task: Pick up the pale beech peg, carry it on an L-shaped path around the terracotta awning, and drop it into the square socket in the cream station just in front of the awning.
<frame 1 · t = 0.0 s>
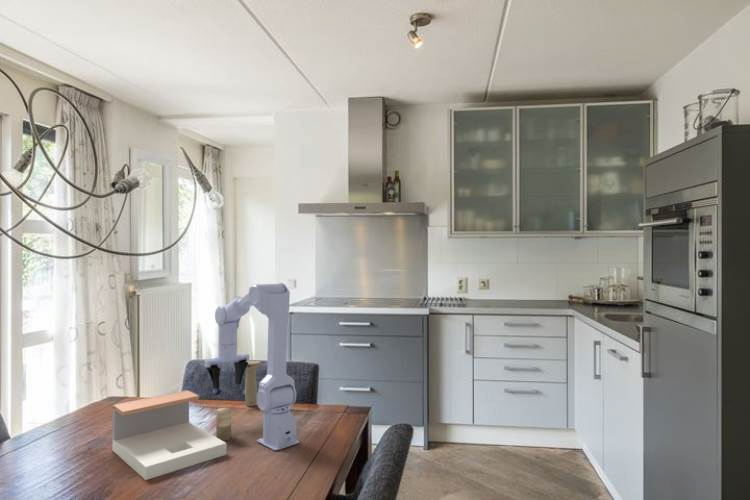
hand: (227, 386, 151), 10 cm above the table, fingers open, 7 cm apart
station: (168, 452, 124), on the table
peg: (223, 438, 134), on the table
handle: (250, 406, 164), on the table
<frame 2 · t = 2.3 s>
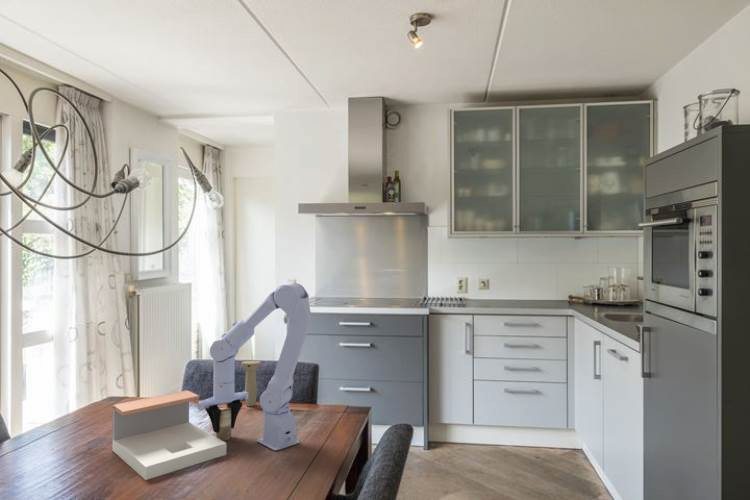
hand: (223, 429, 134), 2 cm above the table, fingers closed on peg, 4 cm apart
peg: (223, 438, 134), on the table, touching gripper
everything else where it was.
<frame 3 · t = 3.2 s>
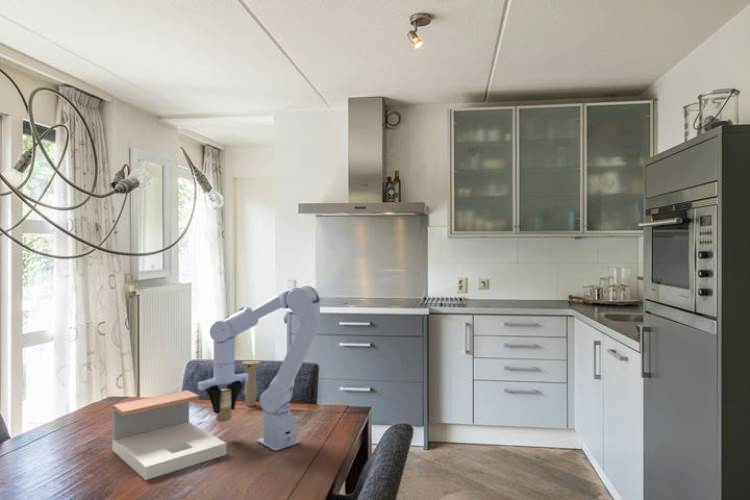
hand: (224, 410, 134), 8 cm above the table, fingers closed on peg, 4 cm apart
peg: (224, 419, 134), point 5 cm above the table, touching gripper
everything else where it was.
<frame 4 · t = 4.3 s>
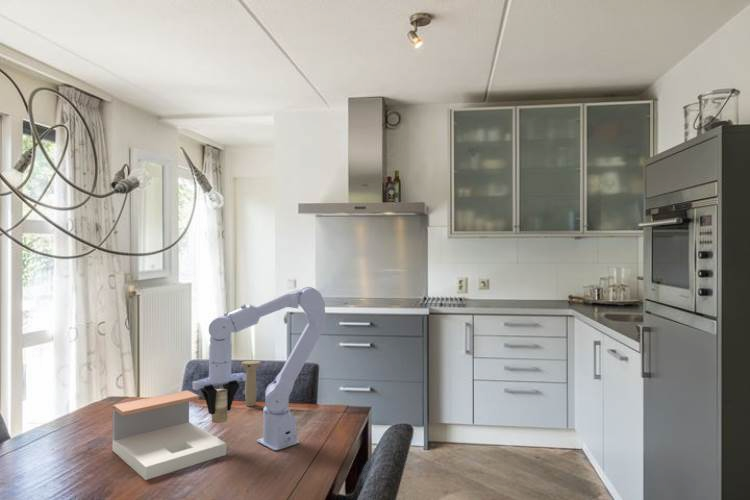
hand: (219, 411, 128), 9 cm above the table, fingers closed on peg, 4 cm apart
peg: (219, 420, 128), point 7 cm above the table, touching gripper
everything else where it was.
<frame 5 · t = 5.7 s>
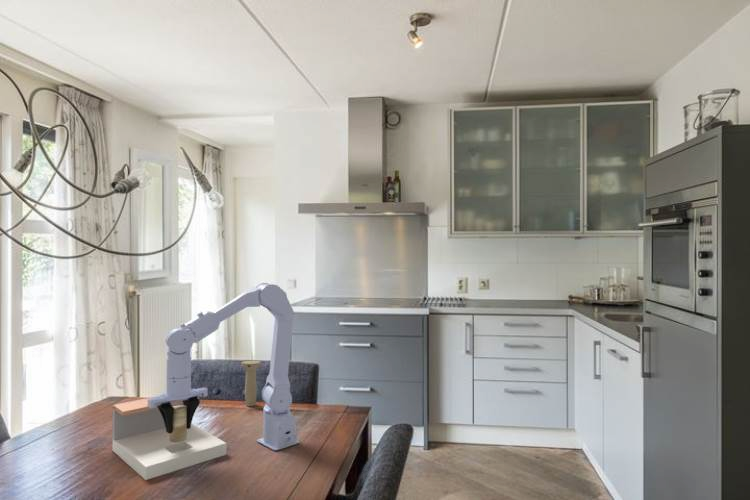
hand: (178, 430, 120), 7 cm above the table, fingers closed on peg, 4 cm apart
peg: (178, 439, 120), point 5 cm above the table, touching gripper
everything else where it was.
when the fingers open (4 cm above the table, at t = 6.8 s): peg drops 2 cm, resting in station.
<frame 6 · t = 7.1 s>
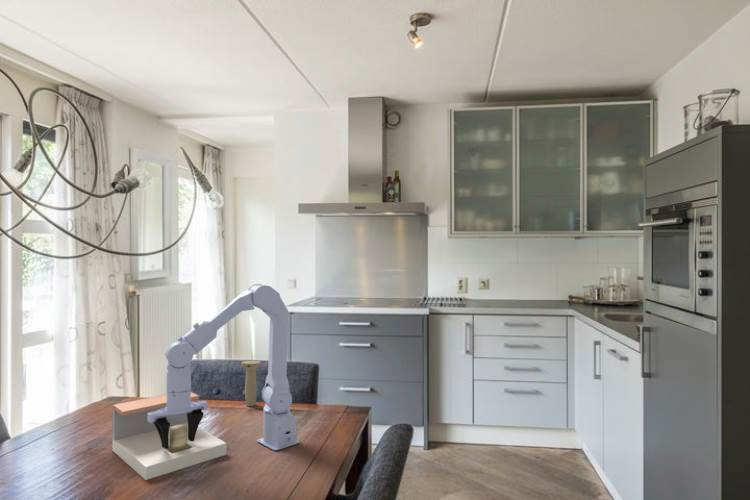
hand: (178, 443, 120), 4 cm above the table, fingers open, 6 cm apart
peg: (178, 459, 120), resting in station
everything else where it was.
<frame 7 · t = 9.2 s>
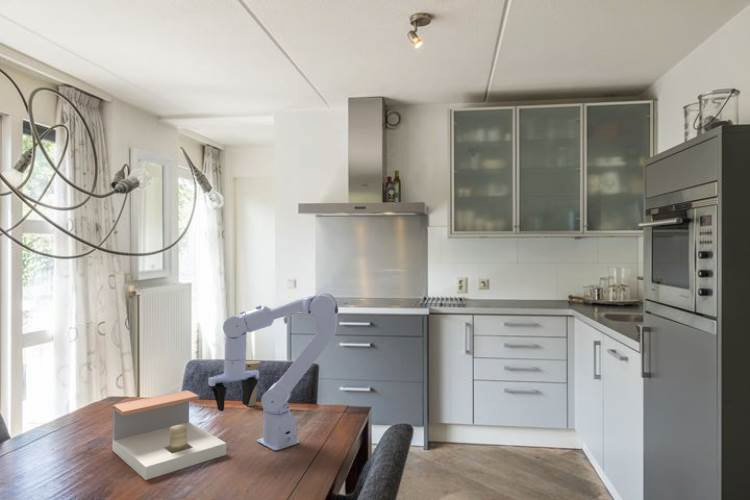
hand: (233, 407, 132), 9 cm above the table, fingers open, 7 cm apart
nothing on the table moved.
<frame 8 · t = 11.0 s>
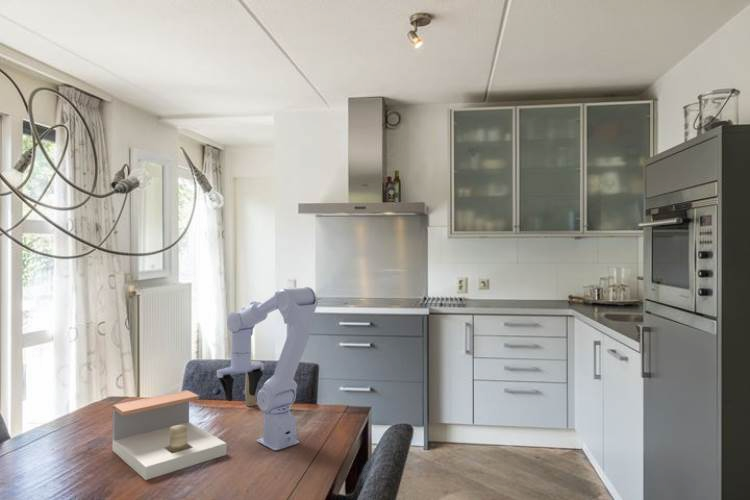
hand: (240, 397, 142), 9 cm above the table, fingers open, 7 cm apart
nothing on the table moved.
at the end: peg 0.1 cm from the target spot on the station, point 0.0 cm above the station's base; peg tilted 0°; the gripper is holding nothing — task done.
